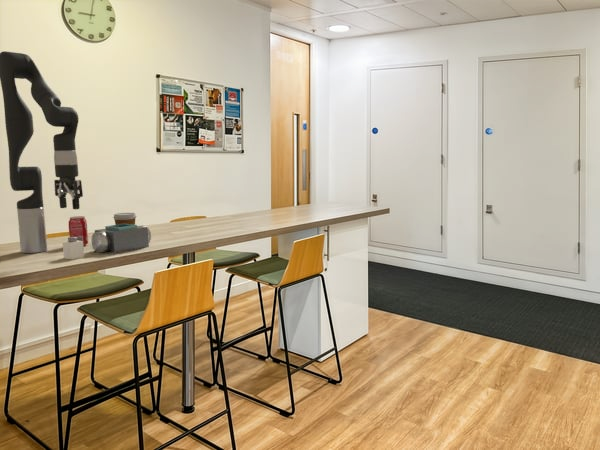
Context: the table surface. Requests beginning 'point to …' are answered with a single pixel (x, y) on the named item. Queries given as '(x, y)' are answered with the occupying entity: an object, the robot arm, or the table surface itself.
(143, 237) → the motor
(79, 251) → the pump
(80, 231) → the soda can
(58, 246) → the table surface
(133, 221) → the disposable coffee cup
